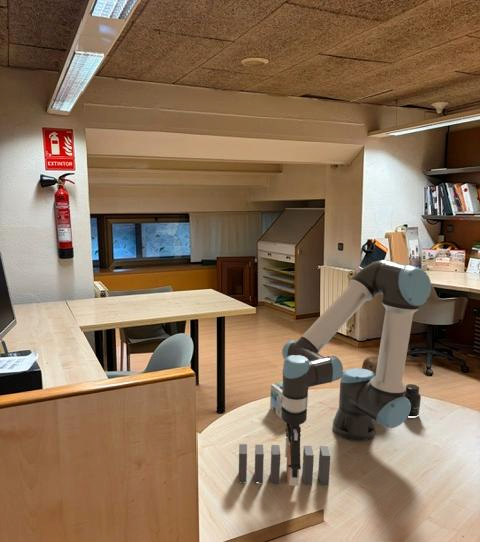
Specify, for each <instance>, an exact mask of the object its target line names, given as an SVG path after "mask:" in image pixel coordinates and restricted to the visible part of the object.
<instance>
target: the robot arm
mask: <svg viewBox="0 0 480 542" xmlns="http://www.w3.org/2000/svg"><path fill="white" fill-rule="evenodd" d="M431 292H432V283H431V279H430V276H429V274H428V273H427V272H426V271H425V269H424V270H423V269H422V268H420V267H417V266H414V265H411V264H406V263H401V262H396V261H392V260H388V259H387V260H386V259H381V260H376V261H374V262H372V263H370V264H368V265H366V266H365V267H363V268H362V269H360V270H359V271H358V272H357V273H356V274H354V276H353V277H352V278H351V279H350V280H349V281H348V287H346V288H345V290H344V291H343V292H341V294H340V295H339V296H338V297H337V298H335V300H334V301H333V302H332V303H331V304H330V306H329V307H328V308H326V310H325V311H324V312H323V313H322V314H321V315H320V316H319V317H318V318H317V319H316V320H315V321H314V322H313V324H311V326H310V327H308V329H307V330H306V331H305V332H304V333H303V334H302V335H301V336H300V338H299V339H298V340H293V339H292V340H290V341H287V342H286V343H284V345H283V347H282V351H281V353H282V354H281V355H282V357H283V359H284V360H283V366H282V382H283V386H282V396H281V397H280V399H281V400H282V412H281V418H282V419H281V418H280V419H281V420H282V421H283V422H284V423H286V424H285V436H286V438H285V448H284V449H285V451H284V452H285V454H284V457H285V458H287V445H290V456H291V464H290V465H288V467H290V475H289V484H288V485H289V486H291V487H292V486H293V487H296V486H297V487H298V486H300V484H299V483H300V470H301V468H302V467H301V432H302V429H301V428H302V427H301V426H300V425H302V424H304V423H306V421H307V418H308V417H307V414H308V413H307V412H308V409H307V408H308V401H309V400H308V398H309V395H308V392H309V388H312V387H315V386H319V385H325V384H328V383H329V384H330V383H333V382H336V381H339V397H338V398H339V399H338V400H339V401H338V402H339V403H338V409H337V412H336V414H335V416H334V418H333V420H332V430H333V431H334V432H335V434H337V435H338V436H340V437H341V438H344V439H346V440H350V441H356V442H357V441H358V442H361V441H362V442H363V441H367V440H370V439H372V438H373V437H374V436H375V432H376V426H375V422H374V421H376V423H378V424H379V425H382V426H384V427H385V428H386V429H387V428H389V429H395V428H398V427H400V426H401V425H402V424H403V423H405V421H406V420H407V417H408V415H409V413H410V410H411V403H410V401H409V400H408V399H407V398H406V397H405V391H406V386H405V385H404V383H403V379H404V373H405V366H406V360H407V353H408V350H409V349H408V348H409V342H410V338H411V337H410V336H411V329H412V323H413V318H414V314H415V313H416V312H417V311H419V310H420V307H421V306H422V305H424V304H425V303H426V302H427V299H429V298H430V295H431ZM377 295H381V296H382V299H381V300H382V301H381V304H382V306H383V307H384V308H385V313H384V319H383V324H382V332H381V338H380V345H379V351H378V363H377V370H376V376H374V373H373V372H372V371H370V370H367V369H362V368H355V367H354V368H348V369H345V370H344V367H343V363H342V361H341V360H340V358H339V357H337V356H335V355H332V356H331V355H327V356H326V357H325V356H324V355H321V354H319V352H320V351H321V350H323V348H324V347H325V345H326V344H328V342H329V341H330V340H331V339H332V338H333V337H334V336H335V335H336V334H337V332H338V331H340V330H341V328H343V326H344V325H345V324H346V323H347V322H348V321H349V320H350V319H351V318H352V316H353V315H355V313H357V311H358V310H359V309H360V308H361V307H362V306H363V305H364V304H365V302H366V301H372V300H373V298H374V297H375V296H377Z"/></svg>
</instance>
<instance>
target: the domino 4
mask: <svg viewBox="0 0 480 542" xmlns="http://www.w3.org/2000/svg"><path fill="white" fill-rule="evenodd" d="M290 464H291V456H290V445H287V457H286V472H285V475H286V482H287V483H286V484H287V485H289V475H290V467H288V465H290Z"/></svg>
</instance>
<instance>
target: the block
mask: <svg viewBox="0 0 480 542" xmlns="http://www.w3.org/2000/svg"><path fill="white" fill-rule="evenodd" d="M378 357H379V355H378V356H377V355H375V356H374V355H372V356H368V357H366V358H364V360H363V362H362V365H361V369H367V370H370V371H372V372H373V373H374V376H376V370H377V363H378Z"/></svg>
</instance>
